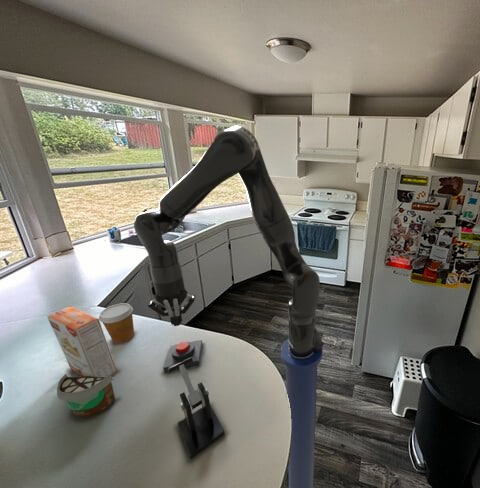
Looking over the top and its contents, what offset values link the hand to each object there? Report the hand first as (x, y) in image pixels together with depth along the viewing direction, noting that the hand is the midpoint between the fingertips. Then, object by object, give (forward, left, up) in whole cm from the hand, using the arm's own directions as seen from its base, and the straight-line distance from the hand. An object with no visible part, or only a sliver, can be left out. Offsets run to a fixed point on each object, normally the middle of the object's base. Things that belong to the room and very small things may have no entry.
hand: (177, 324), depth 80 cm
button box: (0, 0, -14) cm, 14 cm away
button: (0, 0, -10) cm, 11 cm away
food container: (+21, +13, -14) cm, 28 cm away
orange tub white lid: (+23, -17, -14) cm, 32 cm away
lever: (-6, +23, -3) cm, 23 cm away
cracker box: (+26, -2, -14) cm, 30 cm away
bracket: (-8, +27, -14) cm, 31 cm away
